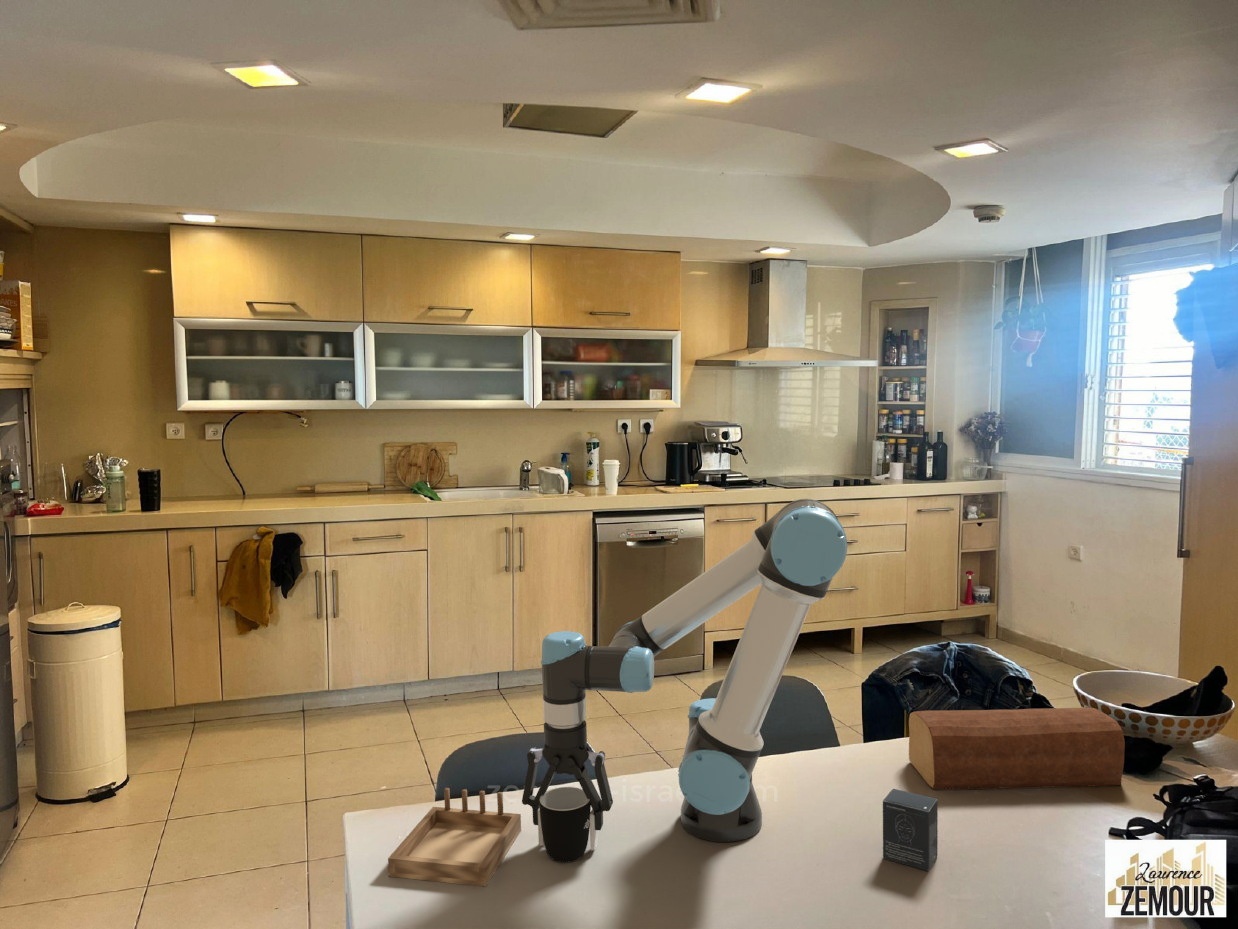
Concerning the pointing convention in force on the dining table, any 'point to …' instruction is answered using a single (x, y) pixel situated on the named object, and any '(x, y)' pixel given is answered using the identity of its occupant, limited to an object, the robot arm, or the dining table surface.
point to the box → (910, 829)
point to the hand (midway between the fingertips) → (568, 844)
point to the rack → (456, 844)
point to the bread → (1016, 748)
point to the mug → (565, 823)
